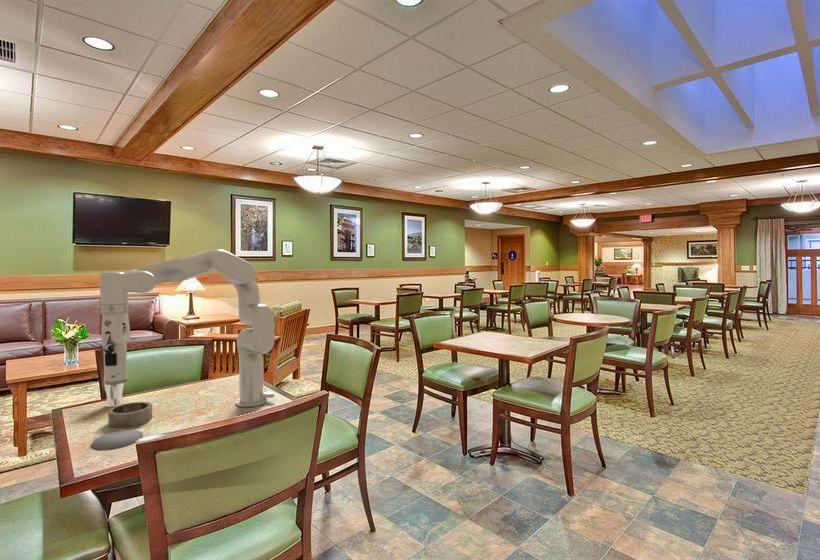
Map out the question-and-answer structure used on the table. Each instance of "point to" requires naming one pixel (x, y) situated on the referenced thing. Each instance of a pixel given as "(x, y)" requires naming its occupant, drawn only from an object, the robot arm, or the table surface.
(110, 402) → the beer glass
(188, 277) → the robot arm
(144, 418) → the collar
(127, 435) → the mat
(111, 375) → the travel mug
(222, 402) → the table surface
